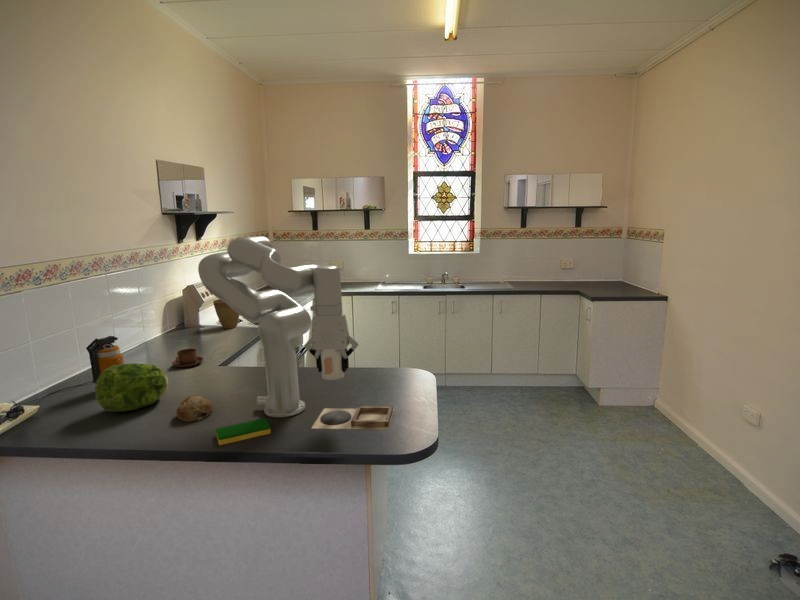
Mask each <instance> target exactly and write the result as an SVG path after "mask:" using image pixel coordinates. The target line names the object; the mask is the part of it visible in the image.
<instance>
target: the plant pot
mask: <svg viewBox="0 0 800 600" xmlns="http://www.w3.org/2000/svg"><path fill="white" fill-rule="evenodd" d="M212 303H213V307H214V310H215V313H216V316H217V318H218V321H219V322H220V324H221V326H222V328H223V329H233V328H237V327H236V326H238V323H239V319H240V314H238V313H237V312H236V311H235V310H233V309H232V308H231V307H230V306H229V305H227V304H226V303H225V302H223V301H222V300H220V299H219V298H217V299H214V300H213V301H212Z"/></svg>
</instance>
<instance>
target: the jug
mask: <svg viewBox="0 0 800 600" xmlns="http://www.w3.org/2000/svg"><path fill="white" fill-rule="evenodd" d="M320 353H321V367H322V371H321V378H322V379H323V380H326V381H335V380H341V379H342V378H344V377H345V372H343V371H342V358H343V355H342V353H341V352H340V350H338V351H337V350H334V349H323V350H322V351H321V352H320Z"/></svg>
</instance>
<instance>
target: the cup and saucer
mask: <svg viewBox="0 0 800 600" xmlns="http://www.w3.org/2000/svg"><path fill="white" fill-rule="evenodd" d="M176 353H177V356H176V357H175V360H174V361H172V362H171V363H172V365H173V366H174V367H175V368H176V367H177V368H190V367H193V366H197V365H199V364H200V363H202V362H203V360H204V358H203V357H202V356H198V354H197V349H195V348H185V349H181V350H178V351H177V352H176Z"/></svg>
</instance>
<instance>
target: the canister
mask: <svg viewBox="0 0 800 600" xmlns="http://www.w3.org/2000/svg"><path fill="white" fill-rule="evenodd" d="M118 338H119V337H117V336H115V335H114V336H113V335H107V337H102V338H99V339H98V338H94V340H93V341H92V342H91V343H90V344H88V345H87V347H85V349H86V350H87V352H88V354H89V362H90V367H91V373H92V383H94V384H96V382H97V379H98V377H99V375H100V374H101V373H102V372H103V371H104V370H106V369H107V368H108V367H111V366H114V365H121V364H125V363H124V356H123V353H121V348H120V347H119V345H116V344H115V341H118ZM114 344H115V345H114Z"/></svg>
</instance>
